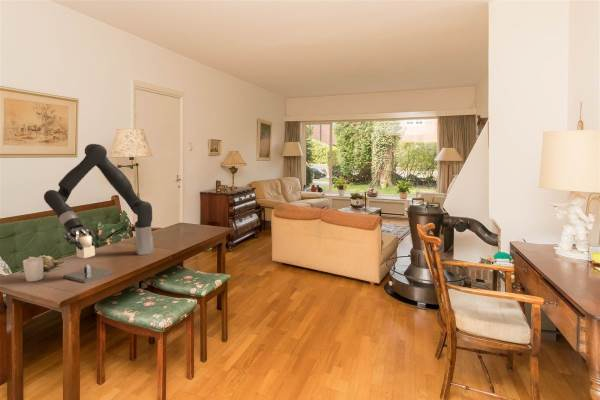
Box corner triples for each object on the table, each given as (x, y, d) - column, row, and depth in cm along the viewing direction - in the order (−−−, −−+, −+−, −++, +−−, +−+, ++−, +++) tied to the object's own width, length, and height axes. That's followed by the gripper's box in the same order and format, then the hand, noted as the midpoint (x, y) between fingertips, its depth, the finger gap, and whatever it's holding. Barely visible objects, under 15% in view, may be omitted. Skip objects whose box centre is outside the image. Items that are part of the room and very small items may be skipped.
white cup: (28, 277, 169) (26, 258, 168) (47, 275, 172) (45, 256, 171) (21, 282, 162) (19, 262, 161) (41, 281, 165) (39, 261, 163)
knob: (87, 253, 174) (86, 234, 173) (95, 255, 172) (93, 235, 171) (76, 256, 169) (75, 236, 168) (84, 258, 167) (83, 237, 166)
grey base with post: (90, 269, 182) (89, 258, 181) (111, 273, 176) (110, 262, 175) (63, 277, 169) (62, 266, 168) (85, 282, 163) (84, 270, 162)
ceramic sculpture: (34, 250, 185) (64, 251, 187) (35, 266, 186) (64, 266, 188) (22, 256, 174) (53, 257, 177) (22, 272, 175) (54, 273, 178)
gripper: (59, 219, 165) (77, 246, 162) (87, 215, 178) (104, 239, 175) (53, 229, 167) (70, 255, 164) (81, 224, 181) (98, 248, 177)
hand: (87, 247), depth 170 cm, fingers closed on knob, 5 cm apart
